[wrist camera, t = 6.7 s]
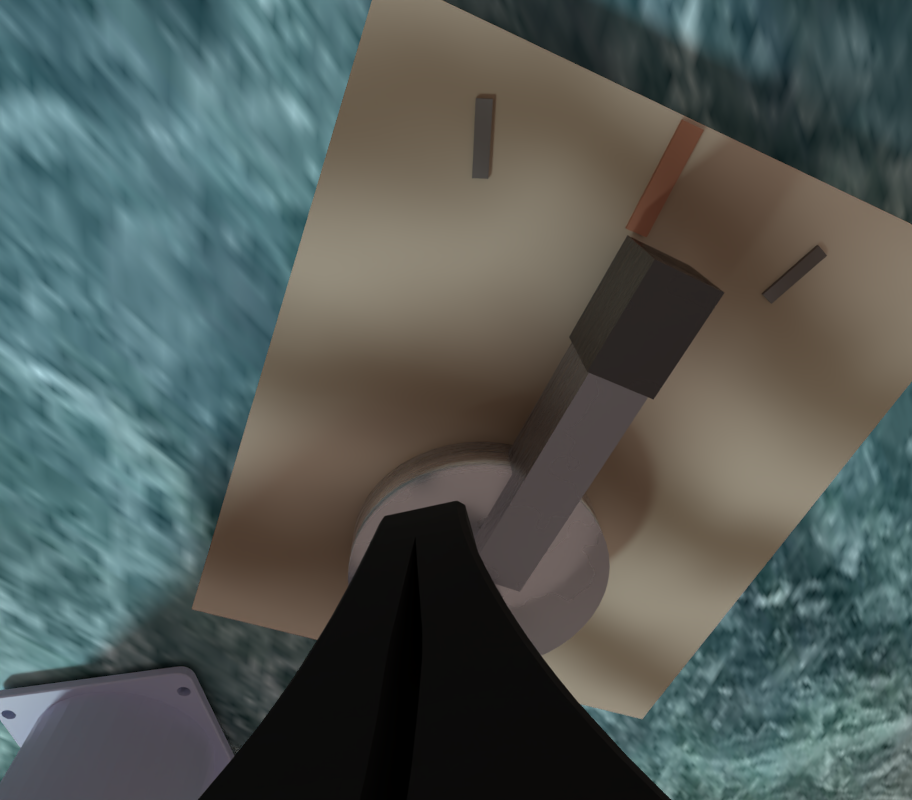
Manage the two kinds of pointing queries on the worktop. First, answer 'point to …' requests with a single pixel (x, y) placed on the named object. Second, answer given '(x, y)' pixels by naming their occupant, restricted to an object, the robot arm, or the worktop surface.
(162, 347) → the worktop surface
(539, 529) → the dial
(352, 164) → the dial board
